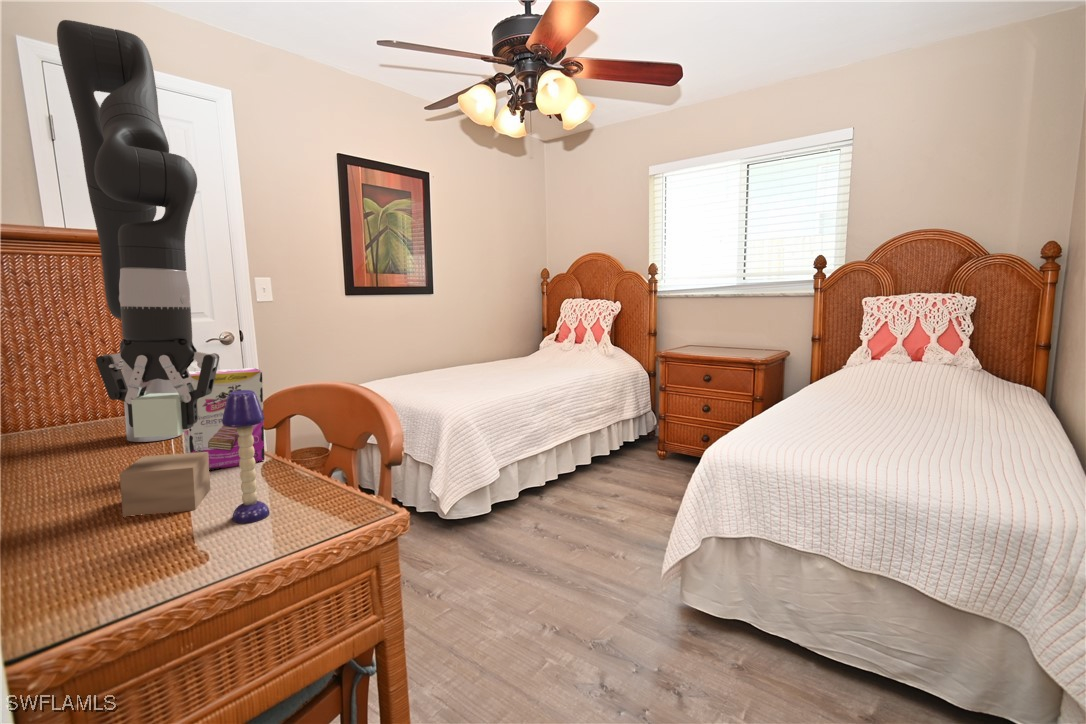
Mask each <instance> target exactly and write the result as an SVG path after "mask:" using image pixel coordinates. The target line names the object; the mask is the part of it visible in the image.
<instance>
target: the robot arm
mask: <svg viewBox="0 0 1086 724" xmlns="http://www.w3.org/2000/svg"><path fill="white" fill-rule="evenodd" d="M56 38H57V39H56V42H57V47H58V53H59V57H60V62H61V66H62V70H63V73H64V77H65V81H66V85H67V89H68V93H69V97H70V100H71V105H72V108H73V109H72V110H73V112H74V117H75V120H76V125H77V130H78V134H79V140H80V147H81V153H82V154H81V155H82V160H83V166H84V174H85V180H86V186H87V190H88V195H89V196H88V197H89V202H90V205H91V206H90V207H91V209H92V210H91V211H92V213H93V214H92V215H93V219H94V223H95V227H96V228H95V229H96V231H97V236H98V237H97V238H98V241H99V246H100V247H99V248H100V255H101V262H102V263H101V264H102V274H103V281H104V282H103V284H104V292H105V298H106V303H107V307H108V310H109V312H110V313H111V315H112V316H113V317H114V318H115V319H118V320H120V321H121V330H122V331H121V332H122V333H121V334H122V340H121V341H120V344H119V351H120V352H118V353H114V354H113V353H111V354H104V355H99V356H97V357H96V358H95V363H96V366H97V369H98V371H99V374H100V377H101V379H102V382H103V384H104V387H105V390H106V393H107V396H108V398H109V399H110V400H112V401H115V400H118V401H121V402H123V404H124V417H125V432H126V440H127V441H128V442H134V443H146V442H157V441H164V440H169V439H174V438H177V437H180V436H181V435H183V434H184V432H183V433H182V434H180V435H178V436H156V437H134V429H133V414H132V400H133V399H135V398H138V397H141V396H144V395H147V394H152V393H178V394H179V396H180V398H181V400H182V401H183V402H182V403H181V416H182V428H183V429H190V428H191V427H193V425H194V424H195V423H196V422H197V420H198V410H197V400H198V399H199V398H201V397H204V396H206V395H208V394H210V393H211V392H212V389H213V385H214V380H215V376H216V371H217V370H218V367H219V362H220V356H219V354H218V353H206V352H201V351H198V350H197V348H196V347H195V345H194V343H193V325H192V322H193V321H192V306H191V292H190V291H191V290H190V284H189V280H188V279H189V278H188V274H187V260H186V259H187V257H186V235H187V234H186V231H187V227H188V220H189V218H190V213H191V210H192V206H193V202H194V200H195V196H196V194H197V188H198V177H197V172H196V171H195V169H194V167H193V165H192V163H190V161H189V160H188V159H186V157H183V156H182V155H179V154H177V153H176V154H175V153H171V152H170V145H169V141H168V138H167V136H166V133H165V129H164V127H163V125H162V122H161V119H160V115H159V102H158V101H159V100H158V94H157V93H158V91H157V83H156V77H155V72H154V67H153V62H152V58H151V55H150V51H149V49H148V48H147V45H146V43H145V42H144V41H143V40H142V39H141V38H140V37H139V36H137V35H136V34H134V33H131V32H128V31H124V30H122V29H114V28H112V27H111V28H110V27H105V26H100V25H95V24H91V23H87V22H82V21H76V20H70V19H62V20H61V21H60V22H59V23H58V25H57V28H56ZM95 92H101V93H108V95H107V96H106V97H105V98H104V99H103V101H102V102H101V104H100V105H99V103H98V101H97V99H96V97H95ZM157 207H163V208H164V214H163V216H162V217H161V218H159V219H155V217H156V215H157V212H158V211H157ZM194 360H195V361H196V362H197V363H196V364H197V368H199V369H200V370H199V371H200V376H199V380H198V385H197V389H195V387H194V385H193V380H192V377H191V375H190V373H189V371H190V370H189V369H188V368H190V366H191V364H192V363H193V362H194ZM184 375H185V376H184Z"/></svg>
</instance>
